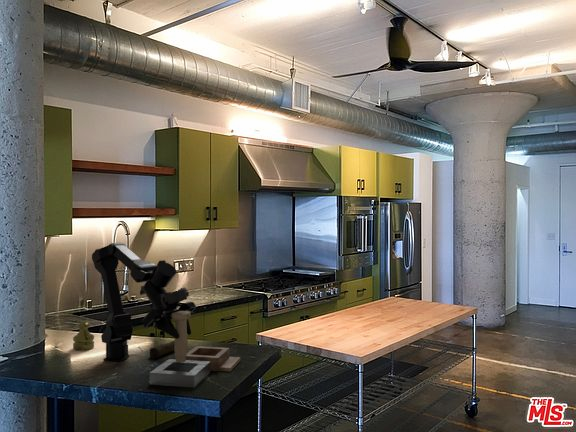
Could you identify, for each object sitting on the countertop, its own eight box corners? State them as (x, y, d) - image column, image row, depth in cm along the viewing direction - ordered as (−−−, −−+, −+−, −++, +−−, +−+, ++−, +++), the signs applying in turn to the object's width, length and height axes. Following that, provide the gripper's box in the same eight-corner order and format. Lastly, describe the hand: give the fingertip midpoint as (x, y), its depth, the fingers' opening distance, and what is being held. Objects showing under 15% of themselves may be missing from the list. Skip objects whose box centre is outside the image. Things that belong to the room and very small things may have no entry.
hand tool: (157, 360, 173) (157, 346, 173) (149, 358, 175) (149, 345, 175) (193, 347, 190) (193, 335, 190) (184, 346, 192) (184, 333, 191)
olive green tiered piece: (68, 350, 184) (68, 323, 184) (81, 345, 191) (81, 319, 191) (86, 351, 182) (86, 324, 182) (98, 346, 189) (98, 320, 189)
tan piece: (171, 367, 163) (171, 355, 163) (185, 357, 175) (185, 345, 175) (230, 371, 160) (230, 358, 160) (240, 360, 171) (240, 348, 171)
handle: (193, 359, 155) (193, 311, 155) (181, 365, 149) (181, 315, 149) (180, 357, 157) (180, 310, 157) (168, 363, 151) (168, 314, 151)
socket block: (149, 384, 148) (149, 372, 148) (169, 369, 161) (169, 359, 161) (194, 387, 145) (194, 375, 145) (210, 372, 159) (210, 361, 159)
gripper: (149, 283, 147) (177, 325, 141) (192, 276, 163) (218, 314, 158) (130, 307, 151) (156, 349, 146) (173, 298, 167) (198, 335, 162)
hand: (184, 336), depth 152 cm, fingers closed on handle, 5 cm apart
